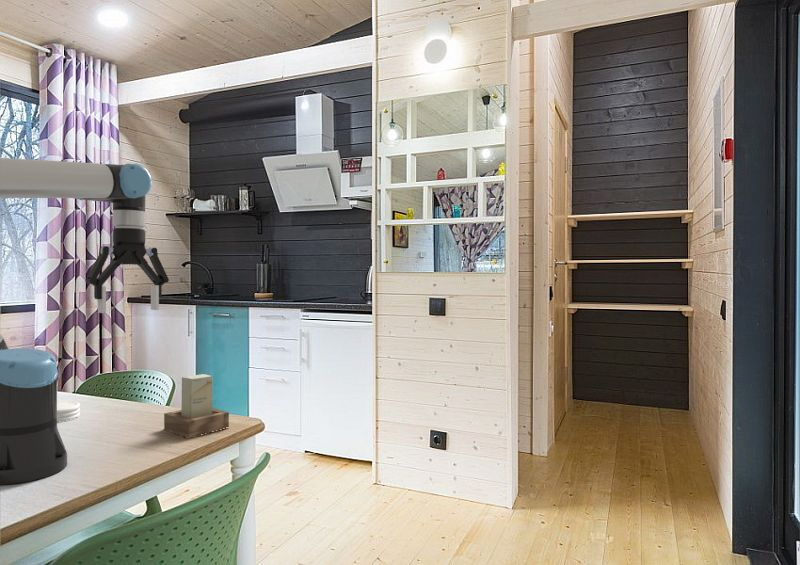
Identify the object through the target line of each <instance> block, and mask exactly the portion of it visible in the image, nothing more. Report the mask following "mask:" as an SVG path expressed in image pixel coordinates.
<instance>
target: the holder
mask: <svg viewBox="0 0 800 565" xmlns="http://www.w3.org/2000/svg"><path fill="white" fill-rule="evenodd" d="M181 413H182V409H179V410H174V411H170V412H165V413H164V414H163V415H164V416H163V420H164V421H163V424H164V425H163V430H165V431H168V432H171V433H172V434H173V433H174V434H175V433H176V434H175V435H178V434H179V436H181V435H182V436H181V437H184V436H185V437H184V438H186V437H188V438H187V439H191V438H190V437H192V438H195V437H194V436H196V437H199V436H198V435H200V436H202V435H201V434H204V435H206V434H205V433H208V434H210V433H209V432H212V431H216V430H220V429H223V428H226V427H229V428H230V426H229V425H230V421H229V420H230V418H229V417H230V413H229V412H228V411H225V410H222V409H217V408H214V407H212V415H207V416H203V417H198V418H194V419H189V418H186V417H183V416H181ZM220 431H221V430H220ZM216 432H217V431H216ZM212 433H213V432H212Z"/></svg>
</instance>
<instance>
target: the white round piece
mask: <svg viewBox="0 0 800 565" xmlns="http://www.w3.org/2000/svg"><path fill="white" fill-rule="evenodd" d="M80 407H81V403H79V402H77V401H71V400H70V401H57V423H60V422H59V421H64V422H67V421H66V420H69V421H71V420H70V419H73V420H75V419H74V418H76V417H78V416H79V417H80V416H81V408H80ZM79 417H78V418H79ZM76 419H77V418H76Z"/></svg>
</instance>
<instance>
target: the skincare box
mask: <svg viewBox="0 0 800 565" xmlns="http://www.w3.org/2000/svg"><path fill="white" fill-rule="evenodd" d="M212 408H213V375H210V374H205V373H200V374H195V375H188V376H182V377H181V410H182V413H181V416H183V417H186V418H189V419H194V418H198V417H203V416H207V415H212Z"/></svg>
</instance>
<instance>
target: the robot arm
mask: <svg viewBox="0 0 800 565" xmlns="http://www.w3.org/2000/svg"><path fill="white" fill-rule="evenodd" d="M152 183H153V182H152V177H151V174H150V172H149V171H148V170H147V168H146V167H144V165H143V166H142V165H141V164H138V163H125V164H114V163H113V164H112V163H97V162H81V161H80V162H78V161H61V160H60V161H59V160H48V159H47V160H45V159H29V158H13V157H11V158H9V157H0V199H76V200H79V201H90V202H92V201H93V202H102V203H110V204H112V226H114V228H113V229H112V244H113V245H112V247H110V246H108V245H102V246H100V247H99V250H98V256H97V258H96V260H95V261H94V264H93V265H92V267H91V269H90V271H89V273H88V275H87V277H86V279H85V283H87V284H88V285H92V286H93V290H94V291H93V296H94V300H97V313H98V314H99V313H100V314H107V286H104V284H105V283H106V282H107V280H109V278H110V277H111V275H113V273H114V272H115V271H116V270H117V269H118V267H121V265H134V266H135V265H136V266H138V267H139V268H140V269H141V270H142V272H144V274H145V275H146V276H147V278H149V280H150V281H151V283H153V284H151V285H150V310H151V311H159V308H160V305H159V304H160V298H162V296H163V295H162V286H164V284H166V283H169V282H170V280H169V277H168V274H167V272H166V270H165V269H164V267H163V265H162V262H161V260H160V258H159V256H158V255H159V254H158V249H157V247H148V248H146V246H145V245H146V230H145V229H144V228H145V227H146V195H148V193H149V192H150V191H151V188H152V185H153V184H152ZM111 254H112V255H113V258H112V259H111V261H110V262H109V264H108V265H107V266H106V267H105V268H104V270H103V267H104V265H105V263H106V262H107V260H108V257H109V256H110V255H111ZM146 255H147V256H148V258H149V261H150V263H151V266H152V267H153V268H152V267H151V266H150V264H149V262H148V261H147V259H146V258H145V256H146ZM153 269H154V270H153ZM101 271H102V272H101ZM58 375H59V373H58V365H57V360H56V357H55V356H54V355H53V354H52V353H51V352H48V351H45V350H42V349H37V348H33V349H31V348H27V347H26V348H22V347H21V348H19V347H18V348H9V347H8V345H7V343H6V341H5V339H4V337H3V335H2V334H0V485H11V484H13V485H14V484H20V483H26V482H33V481H36V480H40V479H43V478H46V477H49V476H52V475H55V474H57V473H58V472H61V471H62V470H63V469H65V468H66V467H67V465H68V452H67V450H66V447H65V446H66V445H65V444H64V442H63V440H62V437H61V434H60V431H59V429H58V422H57V402H58Z"/></svg>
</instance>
